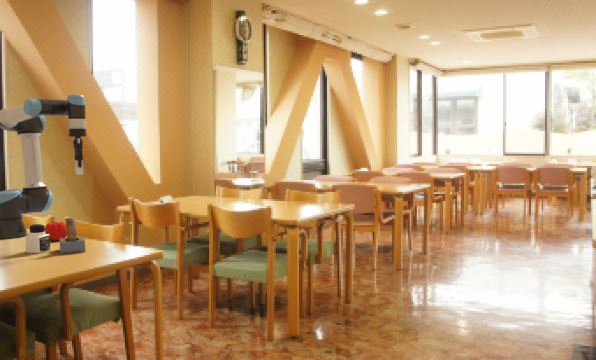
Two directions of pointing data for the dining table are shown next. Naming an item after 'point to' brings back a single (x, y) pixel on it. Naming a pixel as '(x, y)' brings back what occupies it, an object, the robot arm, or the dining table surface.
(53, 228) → the red bell pepper
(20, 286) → the dining table surface
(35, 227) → the medicine bottle
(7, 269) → the dining table surface
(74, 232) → the peg
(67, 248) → the socket
